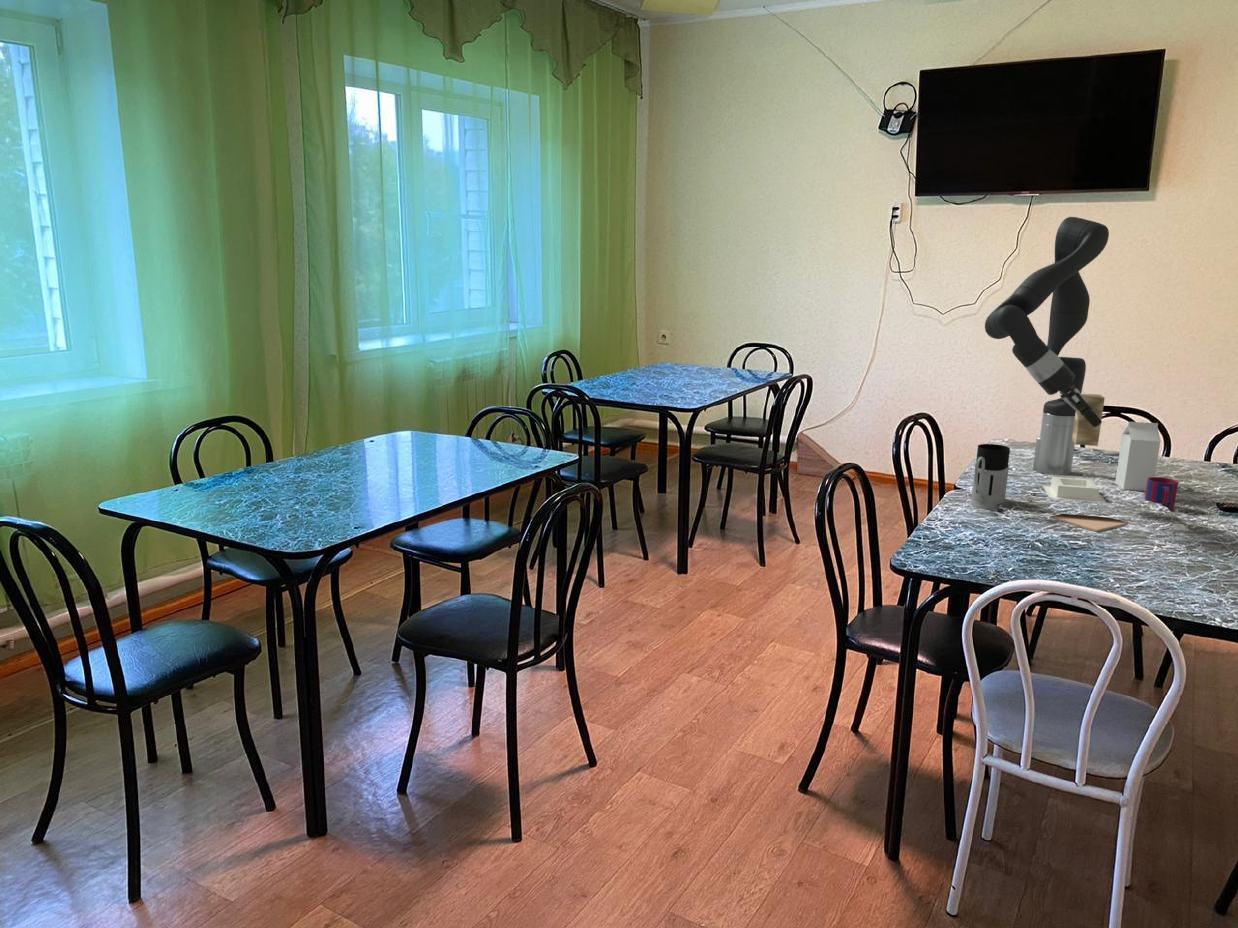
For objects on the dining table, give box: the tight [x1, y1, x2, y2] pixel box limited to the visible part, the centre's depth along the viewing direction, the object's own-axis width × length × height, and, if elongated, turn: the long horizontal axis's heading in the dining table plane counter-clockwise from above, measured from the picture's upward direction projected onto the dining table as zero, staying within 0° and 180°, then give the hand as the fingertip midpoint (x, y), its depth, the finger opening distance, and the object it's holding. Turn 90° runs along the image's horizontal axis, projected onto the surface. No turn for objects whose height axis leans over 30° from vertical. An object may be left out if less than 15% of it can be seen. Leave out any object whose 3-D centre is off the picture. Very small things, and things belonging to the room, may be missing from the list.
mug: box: [1144, 476, 1179, 510], centre depth 233 cm, size 7×10×7 cm
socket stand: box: [1042, 476, 1107, 504], centre depth 239 cm, size 13×13×4 cm
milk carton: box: [1114, 421, 1161, 492], centre depth 245 cm, size 7×7×19 cm
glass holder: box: [968, 443, 1011, 511], centre depth 230 cm, size 9×14×15 cm, turn 137°
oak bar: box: [1072, 393, 1106, 447], centre depth 229 cm, size 5×5×12 cm
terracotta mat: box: [1050, 513, 1129, 532], centre depth 221 cm, size 12×12×1 cm
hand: (1095, 422), depth 228 cm, fingers closed on oak bar, 5 cm apart
